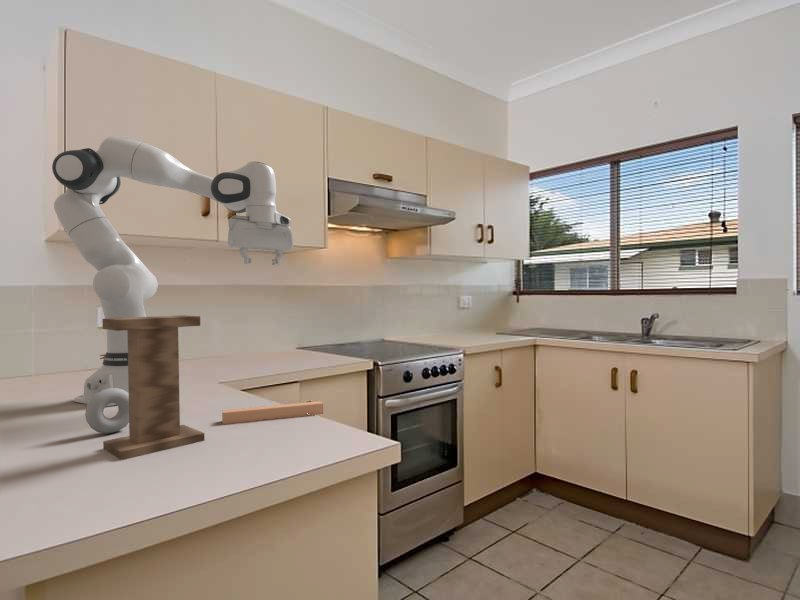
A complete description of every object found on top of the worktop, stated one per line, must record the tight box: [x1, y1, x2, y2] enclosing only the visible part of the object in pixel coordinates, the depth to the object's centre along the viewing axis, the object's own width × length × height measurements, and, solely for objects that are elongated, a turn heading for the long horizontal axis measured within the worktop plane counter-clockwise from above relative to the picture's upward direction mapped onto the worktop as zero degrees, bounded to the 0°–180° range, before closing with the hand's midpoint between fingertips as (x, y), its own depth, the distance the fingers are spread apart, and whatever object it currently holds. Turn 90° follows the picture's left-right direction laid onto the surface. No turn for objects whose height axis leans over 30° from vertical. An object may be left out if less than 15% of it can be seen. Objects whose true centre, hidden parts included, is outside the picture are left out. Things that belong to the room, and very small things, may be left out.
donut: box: [84, 388, 129, 434], centre depth 110 cm, size 10×4×10 cm, turn 141°
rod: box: [221, 400, 324, 425], centre depth 122 cm, size 24×3×3 cm, turn 112°
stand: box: [101, 314, 205, 461], centre depth 101 cm, size 16×10×26 cm, turn 137°
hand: (261, 264), depth 147 cm, fingers open, 8 cm apart
